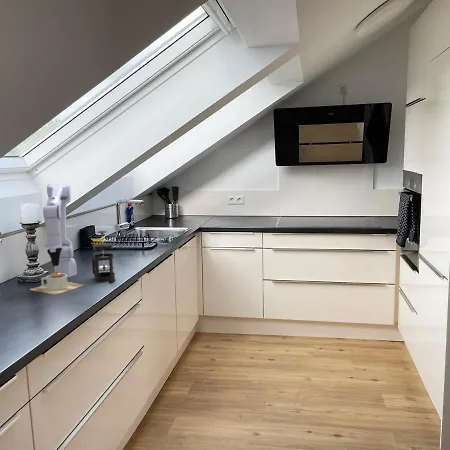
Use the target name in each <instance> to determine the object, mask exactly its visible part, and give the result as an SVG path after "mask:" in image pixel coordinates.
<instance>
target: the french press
mask: <svg viewBox="0 0 450 450" xmlns="http://www.w3.org/2000/svg"><path fill="white" fill-rule="evenodd" d="M104 233H107V230H100V231H97V234H100V236H101V242H100V243H94V244H92V247H93V251H95V252H102V253H99V254H98V253H97V254H92V255H91V264H92V265H91V266H92V268H91V269H92V274H93V277H94V282H97V283H106V282H108V284H112V283H115V282H116V273H115V272H114V266H113V265H114V264H113V259H114V258H115V256H114V254H113V253H107V252H106V253H104V251H105V250H106V249H113V246H114V243H112V242H111V243H110V242H104ZM99 261H101V262H103V265H100V266H99ZM105 261H108V264H109V265H105Z"/></svg>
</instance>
